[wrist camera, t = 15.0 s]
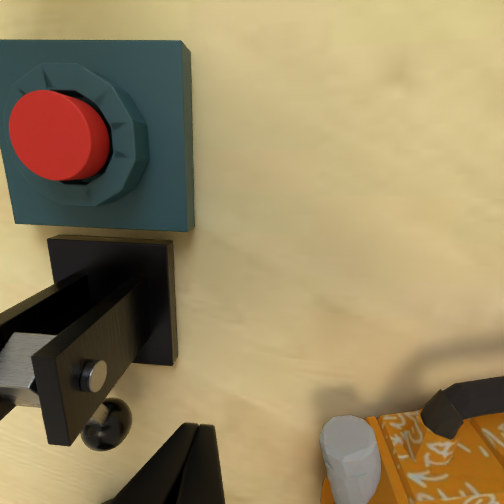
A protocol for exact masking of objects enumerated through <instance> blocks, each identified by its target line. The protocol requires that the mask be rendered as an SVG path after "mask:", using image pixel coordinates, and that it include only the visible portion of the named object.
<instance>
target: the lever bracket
mask: <svg viewBox="0 0 504 504" xmlns="http://www.w3.org/2000/svg"><path fill="white" fill-rule="evenodd" d="M47 243H48V249H49V255H50V261H51V268H52V274H53V280H54V284H53V285H52V286H50V287H48V288H46V289H44V290H42V291H41V292H39V293H37V294H35V295H33V296H31V297H30V298H28V299H26V300H24V301H22V302H20V303H19V304H17V305H15V306H13V307H11V308H9V309H8V310H6V311H4V312H2V313H0V352H1V351H2V349H3V348H4V346H5V345H6V343H7V342H8V340H9V339H10V337H11V336H12V334H13V333H14V332H19V333H33V334H47V335H57V336H56V337H55V338H53V339H52V340H51V341H50V342H48V343H47V344H46V345H44V346H43V347H42V348H41V349H39V350H38V351H37V352H36V353H34V354H33V355H32V356H31V361H32V366H33V371H34V376H35V381H36V386H37V391H38V395H39V400H40V405H41V410H42V415H43V420H44V425H45V430H46V435H47V440H48V444H50V445H61V446H71V445H72V443H73V442H74V440H75V439H76V438H77V436H78V435H79V434H80V432H81V431H82V429H83V428H84V427H85V425H86V424H87V423H88V421H89V420H90V418H91V417H92V416H93V414H94V413H95V412H96V410H97V409H98V408H99V406H100V405H101V403H102V402H103V401H104V399H105V398H106V397H107V395H108V394H109V392H110V391H111V390H112V388H113V387H114V386H115V384H116V383H117V381H118V380H119V379H120V377H121V376H122V375H123V373H124V372H125V370H126V369H127V368H128V366H129V365H130V364H131V363H141V364H154V365H166V366H173V364H174V363H175V361H176V359H177V357H178V350H177V328H176V306H175V283H174V261H173V241H171V240H152V239H132V238H112V237H92V236H72V235H57V236H54V237H51V238H48V239H47ZM15 406H16V405H15V404H14V403H12V402H10V401H8V400H6V399H5V398H3V397H1V396H0V420H1V419H3V418H4V417H5V416H6V415H7V414H8V413H9V412H10V411H11V410H12V409H13V408H14V407H15Z"/></svg>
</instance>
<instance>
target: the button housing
mask: <svg viewBox="0 0 504 504" xmlns="http://www.w3.org/2000/svg"><path fill="white" fill-rule="evenodd" d="M37 90H50V91H54V92H57V93H60V94H63V95H67V96H70V97H73V98H76V99H79V100H81V101H83V102H85V103H87V104H88V105H90V106H91V107H92V108H93V109H94V110H95V111H96V112H97V113H98V114H99V115H100V117H101V118H102V120H103V122H104V123H105V126H106V128H107V131H108V134H109V140H110V149H109V155H108V158H107V161H106V163H105V165H104V166H103V167H102V169H101V170H100V171H99V172H98V173H96V174H95V175H93V176H91V177H88V178H85V179H76V180H64V181H54V180H49V179H45V178H43V177H41V176H39V175H37V174H35V173H34V172H32V171H31V170H30V169H28V168H27V167H26V166H25V165H24V164H23V163H22V161H21V160H20V159H19V157H18V156H17V154H16V152H15V150H14V148H13V145H12V143H11V139H10V133H9V121H10V116H11V112H12V110H13V108H14V106H15V104H16V103H17V102H18V100H19V99H21V98H22V97H23V96H24V95H26V94H28V93H30V92H33V91H37ZM0 147H1V152H2V157H3V163H4V168H5V173H6V178H7V183H8V189H9V194H10V199H11V204H12V209H13V215H14V220H15V224H31V225H52V226H73V227H94V228H115V229H136V230H156V231H177V232H188V231H189V230H190V229H192V228H193V227H194V226H195V222H194V179H193V136H192V93H191V52H190V51H189V49H188V48H187V47H186V46H185V44H184V43H183V42H182V41H176V40H0Z"/></svg>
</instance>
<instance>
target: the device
mask: <svg viewBox="0 0 504 504" xmlns="http://www.w3.org/2000/svg"><path fill="white" fill-rule="evenodd" d="M319 441H320V446H321V451H322V455H323V459H324V463H325V465H326V470H327V475H326V478H325V480H324V482H323V485H322V495H321V504H504V376H502V377H495V378H489V379H482V380H475V381H468V382H462V383H455V384H453V385H452V386H450V387H449V388H447V389H445V390H444V391H442V390H441V389H440V390H439V391H438V392H437V393H436V394H435V395H434V396H433V397H432V398H431V399H430V400H429V401H428V402H427V403H426V404H425V406H424V408H423V409H420V410H417V411H410V412H403V413H396V414H389V415H382V416H380V417H379V418H378V420H377V419H376V417H375V416H374V417H367V419H366V420H364V419H361V418H359V417H356V416H353V415H343V416H335V417H333V418H332V419H330V420H329V421H328V422H326V423H325V424H324V425H323V429H322V432H321V435H320V438H319Z"/></svg>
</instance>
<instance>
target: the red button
mask: <svg viewBox="0 0 504 504" xmlns="http://www.w3.org/2000/svg"><path fill="white" fill-rule="evenodd" d="M9 133H10V139H11V143H12V145H13V148H14V150H15V152H16V154H17V156H18V157H19V159H20V160H21V161H22V163H23V164H24V165H25V166H26V167H27V168H28V169H30V170H31V171H32V172H34V173H35V174H37V175H39V176H41V177H43V178H45V179H49V180H54V181H64V180H76V179H85V178H88V177H91V176H93V175H95V174H96V173H98V172H99V171H100V170H101V169H102V167H103V166H104V165H105V163H106V161H107V158H108V155H109V149H110V140H109V134H108V131H107V128H106V126H105V123H104V122H103V120H102V118H101V117H100V115H99V114H98V113H97V112H96V111H95V110H94V109H93V108H92V107H91V106H90V105H88V104H87V103H85V102H83V101H81V100H79V99H76V98H73V97H70V96H67V95H63V94H60V93H57V92H54V91H50V90H37V91H33V92H30V93H28V94H26V95H24V96H23V97H22V98H21V99H19V100H18V102H17V103H16V104H15V106H14V108H13V110H12V112H11V116H10V121H9Z"/></svg>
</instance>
